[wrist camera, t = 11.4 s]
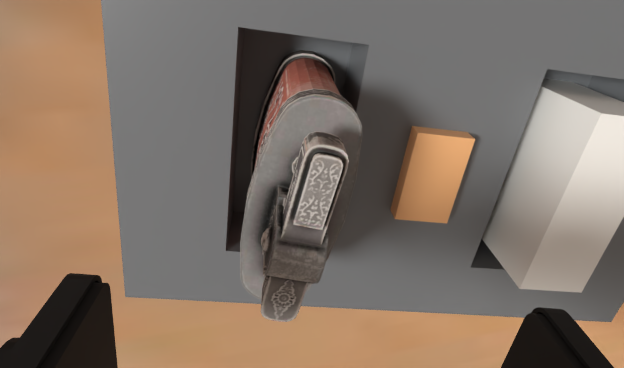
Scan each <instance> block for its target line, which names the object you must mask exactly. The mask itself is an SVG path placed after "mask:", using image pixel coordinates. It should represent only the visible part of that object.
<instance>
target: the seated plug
mask: <svg viewBox="0 0 624 368" xmlns="http://www.w3.org/2000/svg"><path fill="white" fill-rule="evenodd" d="M623 217H624V102H622V101H619V100H617V99H614V98H612V97H609V96H607V95H604V94H602V93H599V92H596V91H594V90H591V89H589V88H586V87H584V86H581V85H579V84H576V83H573V82H568V81H561V80H553V79H546V78H544V79H543V82H542V84H541V87H540V89H539V92H538V94H537V97H536V100H535V102H534V105H533V107H532V110H531V112H530V115H529V118H528V120H527V123H526V125H525V128H524V131H523V133H522V136H521V138H520V141H519V143H518V146H517V149H516V151H515V154H514V156H513V159H512V161H511V164H510V167H509V169H508V172H507V174H506V177H505V179H504V182H503V185H502V187H501V190H500V192H499V195H498V198H497V200H496V203H495V205H494V208H493V210H492V213H491V216H490V218H489V221H488V223H487V226H486V228H485V231H484V234H483V236H482V240H483V241H484V242H485V244H486V245H487V246H488V248H489V249H490V250H491V252H492V253H493V254H494V256H495V257H496V258H497V260H498V261H499V262H500V264H501V265H502V266H503V268H504V269H505V270H506V272H507V273H508V274H509V276H510V277H511V278H512V280H513V281H514V282H515V284H516V285H517V286H518V288H519V289H530V290H547V291H563V292H579V293H582V291H583V289H584V287H585V285H586V284H587V282H588V280H589V278H590V276H591V275H592V273H593V271H594V269H595V267H596V266H597V264H598V262H599V260H600V258H601V257H602V255H603V253H604V251H605V249H606V248H607V246H608V244H609V242H610V240H611V239H612V237H613V235H614V233H615V232H616V230H617V228H618V226H619V224H620V223H621V221H622V219H623Z"/></svg>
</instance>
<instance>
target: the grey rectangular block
mask: <svg viewBox="0 0 624 368" xmlns="http://www.w3.org/2000/svg"><path fill="white" fill-rule="evenodd" d="M101 5H102V17H103V30H104V42H105V54H106V66H107V78H108V91H109V103H110V115H111V127H112V139H113V152H114V164H115V176H116V188H117V200H118V213H119V225H120V237H121V249H122V262H123V274H124V286H125V297H138V298H157V299H176V300H196V301H215V302H234V303H254V304H261V299H258V298H256V297H255V296H253V295H251V294H250V293H248V291H247V290H246V289H245V288H244V287H243V285H242V282H241V278H240V241H241V233H242V226H243V219H244V213H245V206H246V199H247V192H248V188H249V185H250V182H251V159H252V152H253V145H254V138H255V131H256V125H257V121H258V118H259V115H260V111H261V108H262V105H263V102H264V98H265V95H266V92H267V90H268V88H269V86H270V83H271V81H272V79H273V77H274V75H275V72H276V70H277V68H278V66H279V63H280V62H281V61H282V59H283V58H284V57H285V56H287V55H288V54H290V53H291V52H294V51H299V50H308V51H313V52H316V53H318V54H320V55H322V56H323V57H324V58H325V59H326V60H327V61H328V62H329V64H330V66H331V68H332V70H333V71H334V73H335V80H336V87H337V89H338V91H339V93H340V95H341V96H342V97H343V98H345V99H346V100H347V101H348V102H349V103H350V104H351V105H352V107H353V108H354V110H355V112H356V114H357V116H358V118H359V120H360V122H361V125H362V141H361V149H360V156H359V163H358V170H357V177H356V182H355V186H354V189H353V193H352V197H351V200H350V204H349V208H348V211H347V215H346V219H345V222H344V224H343V226H342V229H341V231H340V233H339V235H338V237H337V240H336V242H335V244H334V246H333V249H332V251H331V253H330V255H329V258H328V259H327V261H326V263H325V267H324V270H323V273H322V276H321V279H320V281H319V282H318V283H317V284H316V283H313V284H312V285H311V287H310V289H309V290H308V291H307V292H306V293H305V295H304V298H303V301H302V303H301V306H311V307H331V308H350V309H369V310H389V311H408V312H427V313H447V314H466V315H485V316H504V317H524V318H525V317H526V315H527V314H529V313H531V312H532V311H533V309H535V308H538V307H542V308H556V309H563V310H565V311H566V312H567V313H568V314H569V315H570V316H571V317H572V318H573V319H574V320H582V321H601V322H611V321H612V320H613V318H614V316H615V315H616V313H617V312H618V310H619V308H620V307H621V305H622V304H623V302H624V217H623V219H622V221H621V223H620V224H619V226H618V228H617V230H616V232H615V233H614V235H613V237H612V239H611V240H610V242H609V244H608V246H607V248H606V249H605V251H604V253H603V255H602V257H601V258H600V260H599V262H598V264H597V266H596V267H595V269H594V271H593V273H592V275H591V276H590V278H589V280H588V282H587V284H586V285H585V287H584V289H583V291H582V293H579V292H563V291H547V290H530V289H519V288H518V286H517V285H516V284H515V282H514V281H513V280H512V278H511V277H510V276H509V274H508V273H507V272H506V270H505V269H504V268H503V266H502V265H501V264H500V262H499V261H498V260H497V258H496V257H495V256H494V254H493V253H492V252H491V250H490V249H489V248H488V246H487V245H486V244H485V242H484V241H483V240H482V236H483V234H484V231H485V228H486V226H487V223H488V221H489V218H490V216H491V213H492V210H493V208H494V205H495V203H496V200H497V198H498V195H499V192H500V190H501V187H502V185H503V182H504V179H505V177H506V174H507V172H508V169H509V167H510V164H511V161H512V159H513V156H514V154H515V151H516V149H517V146H518V143H519V141H520V138H521V136H522V133H523V131H524V128H525V125H526V123H527V120H528V118H529V115H530V112H531V110H532V107H533V105H534V102H535V100H536V97H537V94H538V92H539V89H540V87H541V84H542V82H543V79H544V78H546V79H553V80H561V81H568V82H573V83H576V84H579V85H581V86H584V87H586V88H589V89H591V90H594V91H596V92H599V93H602V94H604V95H607V96H609V97H612V98H614V99H617V100H619V101H622V102H624V0H101Z"/></svg>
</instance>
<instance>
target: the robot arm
mask: <svg viewBox="0 0 624 368" xmlns="http://www.w3.org/2000/svg"><path fill="white" fill-rule="evenodd" d="M0 368H117V357H116V347H115V336H114V325H113V315H112V304H111V293H110V286H109V284H108V283H102V280H101V278H100V276H98V275H86V274H73V273H70V274H68V275H67V276H66V277H65V278H64V279H63V280H62V282H61V283H60V284H59V286H58V287H57V288H56V290H55V291H54V292H53V294H52V295H51V296H50V298H49V299H48V300H47V302H46V303H45V305H44V306H43V307H42V309H41V310H40V311H39V313H38V314H37V315H36V317H35V318H34V319H33V321H32V322H31V323H30V325H29V326H28V328H27V329H26V330H25V332H24V333H23V334H22V336H21V337H20V338H12V339H10V340H8V341H7V342H6V343H5V344H4V345H3V346H2V347H1V348H0ZM501 368H614V367H613V366H612V365H611V364H610V362H609V361H608V360H607V359H606V358H605V356H604V355H603V354H602V353H601V352H600V350H599V349H598V348H597V347H596V346H595V344H594V343H593V342H592V341H591V340H590V338H589V337H588V336H587V335H586V334H585V333H584V331H583V330H582V329H581V328H580V327H579V325H578V324H577V323H576V322H575V321H574V319H573V318H572V317H571V316H570V315H569V314H568V313H567V312H566V311H565V310H563V309H556V308H542V307H538V308H535V309H533V311H532V312H531V313H529V314H527V315H526V317H525V318H524V320H523V323H522V325H521V327H520V329H519V331H518V333H517V335H516V337H515V339H514V341H513V344H512V346H511V348H510V350H509V352H508V354H507V356H506V358H505V360H504V362H503V364H502V367H501Z"/></svg>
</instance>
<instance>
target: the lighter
mask: <svg viewBox="0 0 624 368" xmlns="http://www.w3.org/2000/svg"><path fill="white" fill-rule="evenodd" d="M361 141H362V125H361V122H360V120H359V118H358V116H357V114H356V112H355V110H354V108H353V107H352V105H351V104H350V103H349V102H348V101H347V100H346V99H345V98H343V97H342V96H341V95H340V93H339V91H338V89H337V87H336V80H335V73H334V71H333V70H332V68H331V66H330V64H329V62H328V61H327V60H326V59H325V58H324V57H323V56H322V55H320V54H318V53H316V52H313V51H308V50H299V51H294V52H291V53H290V54H288V55H287V56H285V57H284V58H283V59H282V61H281V62H280V63H279V66H278V68H277V70H276V72H275V75H274V77H273V79H272V81H271V83H270V86H269V88H268V90H267V92H266V95H265V98H264V102H263V105H262V108H261V111H260V115H259V118H258V121H257V125H256V131H255V138H254V145H253V152H252V159H251V182H250V185H249V188H248V192H247V199H246V206H245V213H244V219H243V226H242V233H241V241H240V278H241V282H242V285H243V287H244V288H245V289H246V290H247V291H248V293H250V294H251V295H253V296H255V297H256V298H258V299H261V314H262V316H263V317H265V318H266V319H269V320H273V321H279V322H287V321H291V320H293V319H294V318H295V317H296V316H297V314H298V312H299V309H300V306H301V303H302V301H303V298H304V295H305V293H306V292H307V291H308V290H309V289H310V287H311V285H312V284H313V283H316V284H317V283H318V282H319V281H320V279H321V276H322V273H323V270H324V267H325V263H326V261H327V259H328V258H329V255H330V253H331V251H332V249H333V246H334V244H335V242H336V240H337V237H338V235H339V233H340V231H341V229H342V226H343V224H344V222H345V219H346V215H347V211H348V208H349V204H350V200H351V197H352V193H353V189H354V186H355V182H356V177H357V170H358V163H359V156H360V149H361Z"/></svg>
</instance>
